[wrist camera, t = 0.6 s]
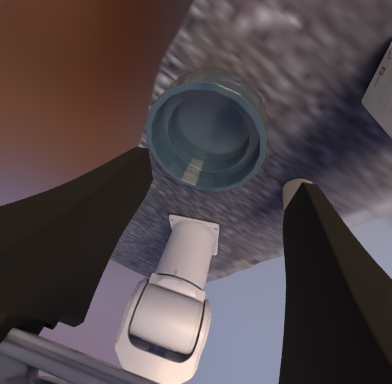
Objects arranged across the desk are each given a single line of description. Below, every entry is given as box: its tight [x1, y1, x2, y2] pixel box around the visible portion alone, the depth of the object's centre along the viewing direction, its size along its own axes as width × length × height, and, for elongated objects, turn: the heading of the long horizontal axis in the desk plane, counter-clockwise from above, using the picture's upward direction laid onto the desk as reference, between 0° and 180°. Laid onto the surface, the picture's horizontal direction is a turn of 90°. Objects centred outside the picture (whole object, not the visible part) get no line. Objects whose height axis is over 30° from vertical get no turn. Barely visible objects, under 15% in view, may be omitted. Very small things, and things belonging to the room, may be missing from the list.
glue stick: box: [283, 178, 313, 210], centre depth 19 cm, size 3×3×6 cm
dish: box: [146, 69, 268, 192], centre depth 17 cm, size 10×10×4 cm
